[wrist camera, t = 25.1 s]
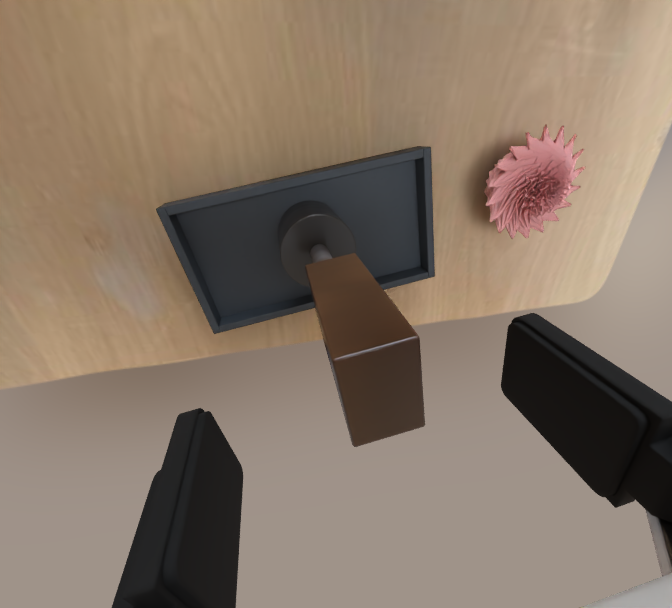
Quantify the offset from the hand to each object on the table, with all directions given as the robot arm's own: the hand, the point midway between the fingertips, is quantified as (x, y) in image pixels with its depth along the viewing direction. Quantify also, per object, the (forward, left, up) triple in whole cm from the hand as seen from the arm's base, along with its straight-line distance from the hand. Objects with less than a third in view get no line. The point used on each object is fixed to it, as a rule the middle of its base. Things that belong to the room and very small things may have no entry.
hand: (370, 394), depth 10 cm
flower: (+17, +1, -18) cm, 25 cm away
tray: (0, 0, -18) cm, 18 cm away
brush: (0, 0, -17) cm, 17 cm away
